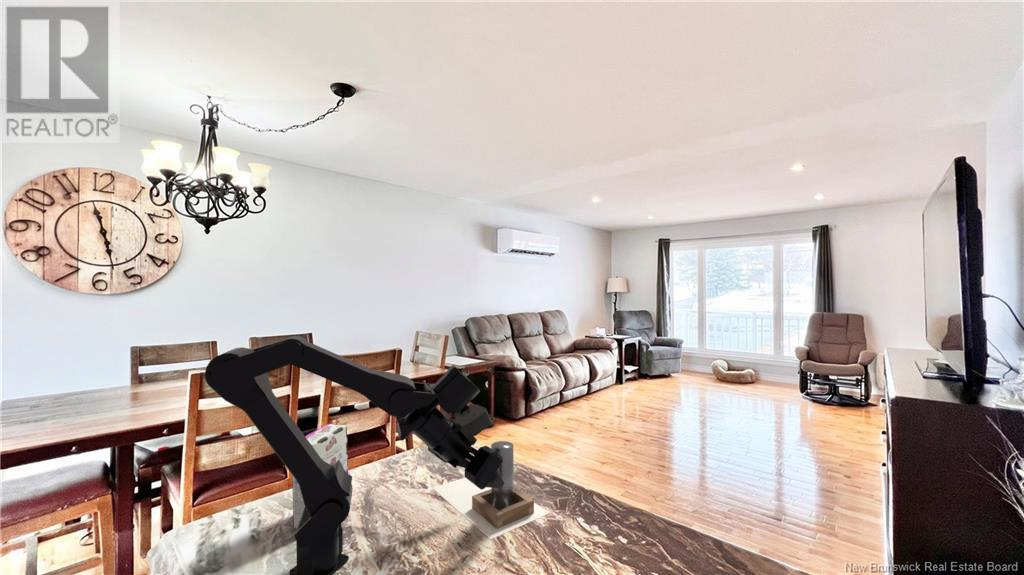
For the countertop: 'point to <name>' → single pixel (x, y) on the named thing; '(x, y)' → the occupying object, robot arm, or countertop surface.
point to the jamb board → (461, 500)
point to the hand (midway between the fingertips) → (488, 476)
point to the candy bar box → (330, 449)
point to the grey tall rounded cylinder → (504, 476)
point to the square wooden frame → (504, 516)
